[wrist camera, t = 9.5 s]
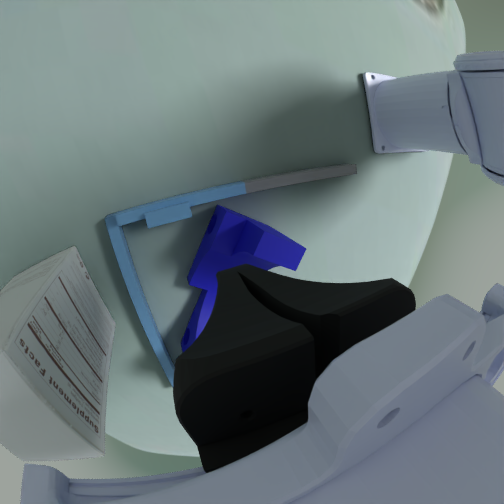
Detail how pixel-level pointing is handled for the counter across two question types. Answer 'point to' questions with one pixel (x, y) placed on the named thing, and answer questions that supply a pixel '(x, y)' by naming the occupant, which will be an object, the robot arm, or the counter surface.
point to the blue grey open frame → (179, 210)
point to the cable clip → (233, 259)
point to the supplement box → (54, 362)
